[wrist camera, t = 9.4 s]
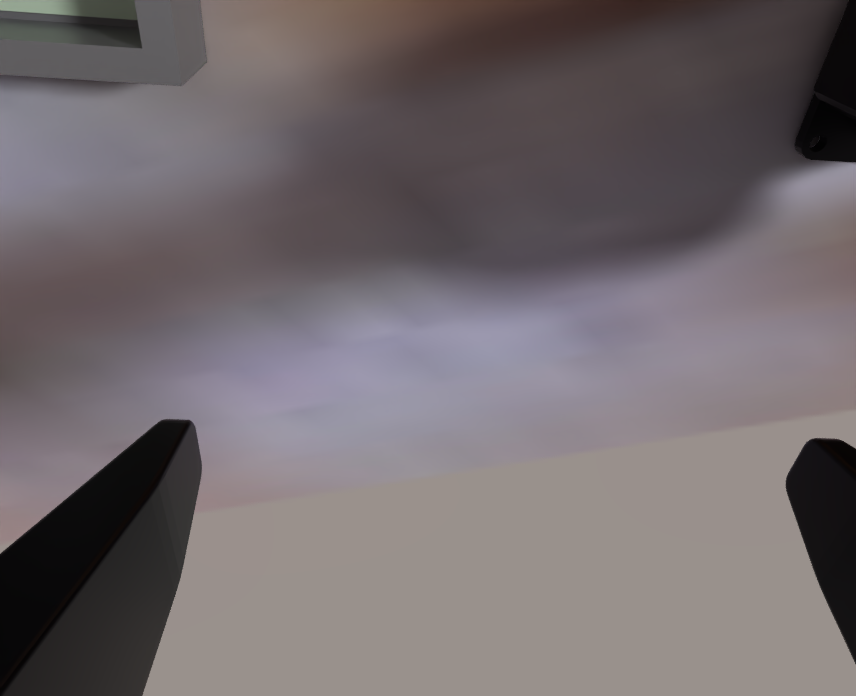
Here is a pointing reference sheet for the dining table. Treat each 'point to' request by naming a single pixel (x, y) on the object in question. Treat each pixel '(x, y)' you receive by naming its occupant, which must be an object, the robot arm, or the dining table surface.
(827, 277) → the dining table surface
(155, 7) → the socket strip
